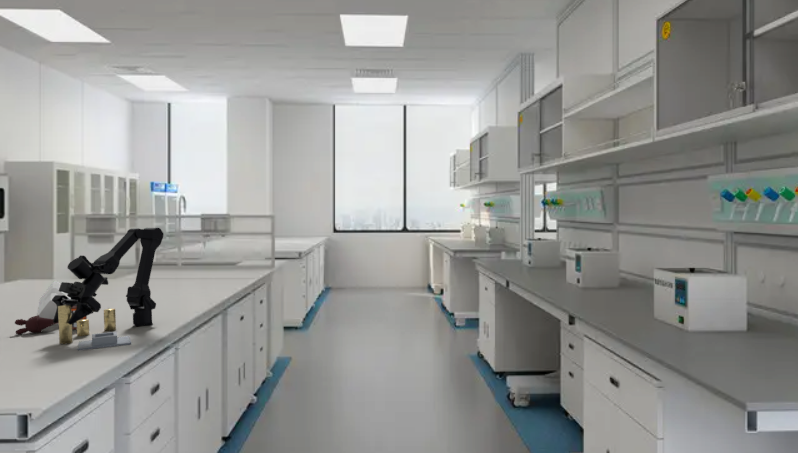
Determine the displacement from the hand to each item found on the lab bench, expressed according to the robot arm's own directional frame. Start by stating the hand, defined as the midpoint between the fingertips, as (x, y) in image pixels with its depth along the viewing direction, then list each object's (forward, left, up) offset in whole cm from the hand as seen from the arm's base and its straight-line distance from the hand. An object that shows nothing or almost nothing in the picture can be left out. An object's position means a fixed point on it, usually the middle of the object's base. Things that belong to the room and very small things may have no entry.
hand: (61, 323), depth 201 cm
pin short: (-6, -13, -7) cm, 16 cm away
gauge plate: (-13, +8, -7) cm, 17 cm away
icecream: (+9, -28, -7) cm, 30 cm away
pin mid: (-15, -17, -7) cm, 24 cm away
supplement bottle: (-4, -28, -7) cm, 29 cm away
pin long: (-1, -1, -7) cm, 7 cm away
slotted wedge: (+4, -45, -7) cm, 46 cm away
